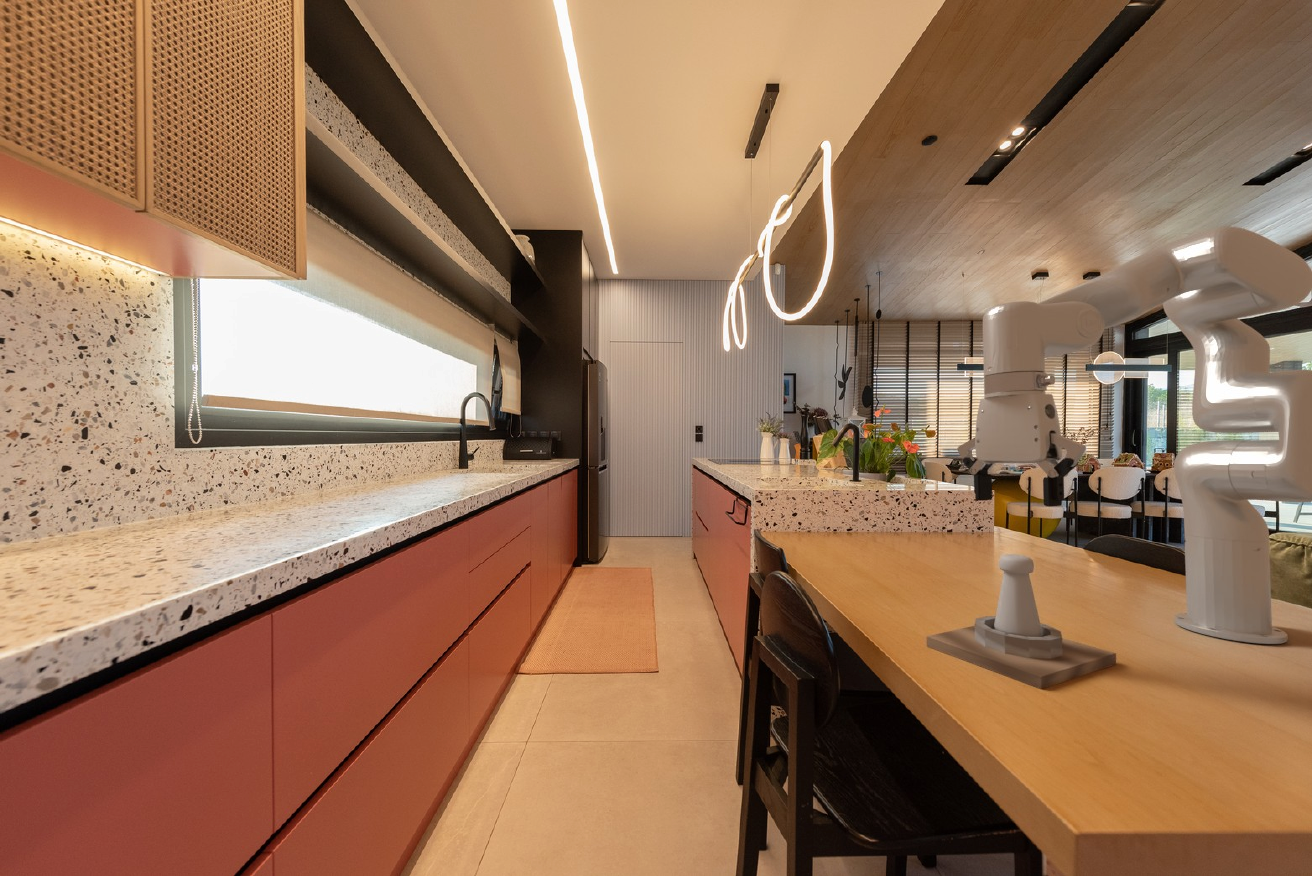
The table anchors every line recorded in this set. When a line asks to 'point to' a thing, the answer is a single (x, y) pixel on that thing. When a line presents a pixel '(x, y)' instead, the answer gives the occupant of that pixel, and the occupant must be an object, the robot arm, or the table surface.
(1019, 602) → the salt shaker
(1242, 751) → the table surface
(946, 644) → the collar board
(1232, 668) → the table surface
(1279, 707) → the table surface
